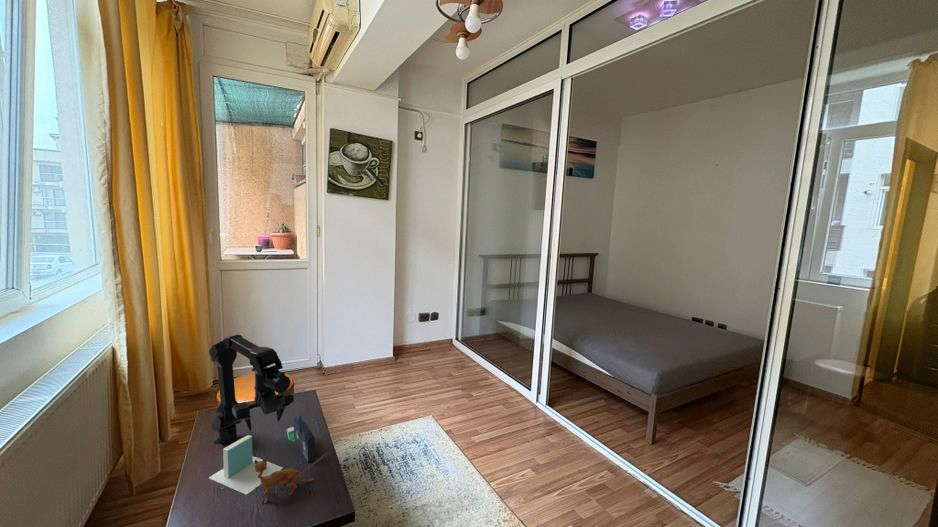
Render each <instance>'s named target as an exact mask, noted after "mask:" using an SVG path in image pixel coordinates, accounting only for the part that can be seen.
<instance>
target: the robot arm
mask: <svg viewBox="0 0 938 527" xmlns="http://www.w3.org/2000/svg"><path fill="white" fill-rule="evenodd" d="M208 352H209V353H208V354H209V357H210V359H211V362H212V363H213V364H214V365H215V366H216V367H217V378H218V386H219V387H218V388H219V400H220V404H219V405H218V407H217V409H216V413H215V419H214V420H212V421H211V429H212V430H214V431H216V432H217V439H215V440H214V441H213V442H214V444H216V445H222V446H223V447H225V446H226V447H227V446H229V445H230V444H233V443H234V442H236V441H238V440H239V439H241V436H240V435H238V433H237V432H238V431H237V430H238V429H237V424H241V423H242V420H244V422H245V424H246V427H247V428H248V431H249V432H251V431H252V422H251V421H252V420H251V418H252V415H251V411H253V410H256V409H259V408H261V411H262V413H263V415H269V414H270V413H276V421H277V422H278V423H279V422H280V420H281V418H282V416H283V413H284V411H285V409H286V408H287V407H288V406H291V404H293V403H295V395H294V393H292V392H291V391H290V390H289V388H290V386H291V379H290V377H289V376H287V375H286V372H284V371H280V370H283V368H284V367H283V365H282V364H283V363H282V361H281V359H280V357H279V355H278V353H277V352H276V351H275V349H273V348H272V347H269V346H258V345H257V344H255V343H253V342H252V341H249V340H248V339H246V338H244V337H243V336H242V334H234V335H230V336H227V337H225V338H224V339H223V340H221V341H219V342H218V343H216V344H213V345H212V346H211V347H210V349H209V351H208ZM238 353H239V354H241V355H242V356H244V357H246V358H247V359H248V360H249V364H250V365H251V367H252V368H251V371H252V372H254V386H253V387H254V388H253V390H254V391H255V392H254V403H251V404H248V403H247V402H246V401H244V402H240V403H239V402H238V401H237V399H236V388H235V378H234V377H235V376H234V367H233V366H234V362H235V360H236V359H237V357H238Z"/></svg>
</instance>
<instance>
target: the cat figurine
mask: <svg viewBox="0 0 938 527" xmlns="http://www.w3.org/2000/svg"><path fill="white" fill-rule="evenodd" d="M266 461H267V456H265V457H264V458H263V459H262V461H259V462H258V461H257V460H255V461H254V463H255V464H254V466H255V470H256V472H260V473H259V475H258V478H260V479H261V480H260V481H261V484H260V485H261V486H263V487H264V489H265V490H264V492H263V495H264V496H265V495H266V498H265V500H264V501H262V502H261V503H262V505H265V504H267V503H268V502H269V501H270V497H271V493H270V492H271V489H272V486H273V487H274V486H278V485H282V484H283V486H284V487H287V488H288V489H291V491H290V493H289V494H287V496H289V497H290V496H292V495H293V494H294V492H295V491H296V490H297V487H298V485H297V484H296V483H295V481H294V479H296V480H297V482H298V483H300V484H307V483H310V482H312V481H314V480H315V478H309V479H301V475H300V474H301V473H300V471H299V470H298V469H295V468H286V469H281V470H280V471H276V472H273V473H271V474H270V475H268V476H264V477H262V476H261V475H262V473H263V471H264V470H265V469H266V467H267V462H268V461H267V462H266Z"/></svg>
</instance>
